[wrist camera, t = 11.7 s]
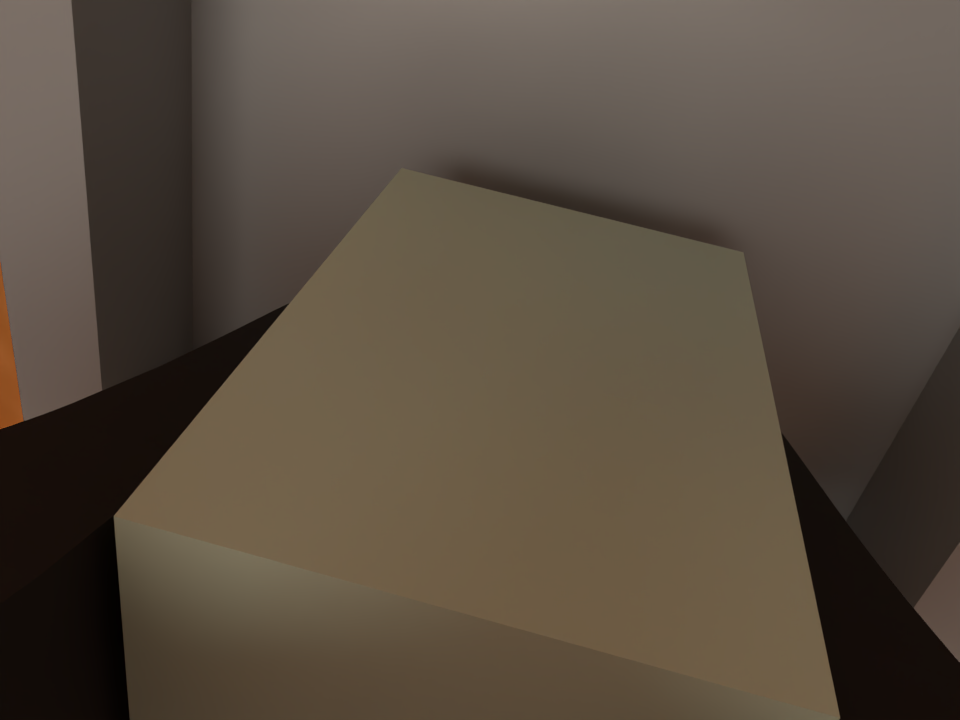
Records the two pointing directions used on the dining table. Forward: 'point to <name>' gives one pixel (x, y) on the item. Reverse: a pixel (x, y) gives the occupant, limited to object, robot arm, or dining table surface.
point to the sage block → (482, 489)
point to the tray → (514, 190)
